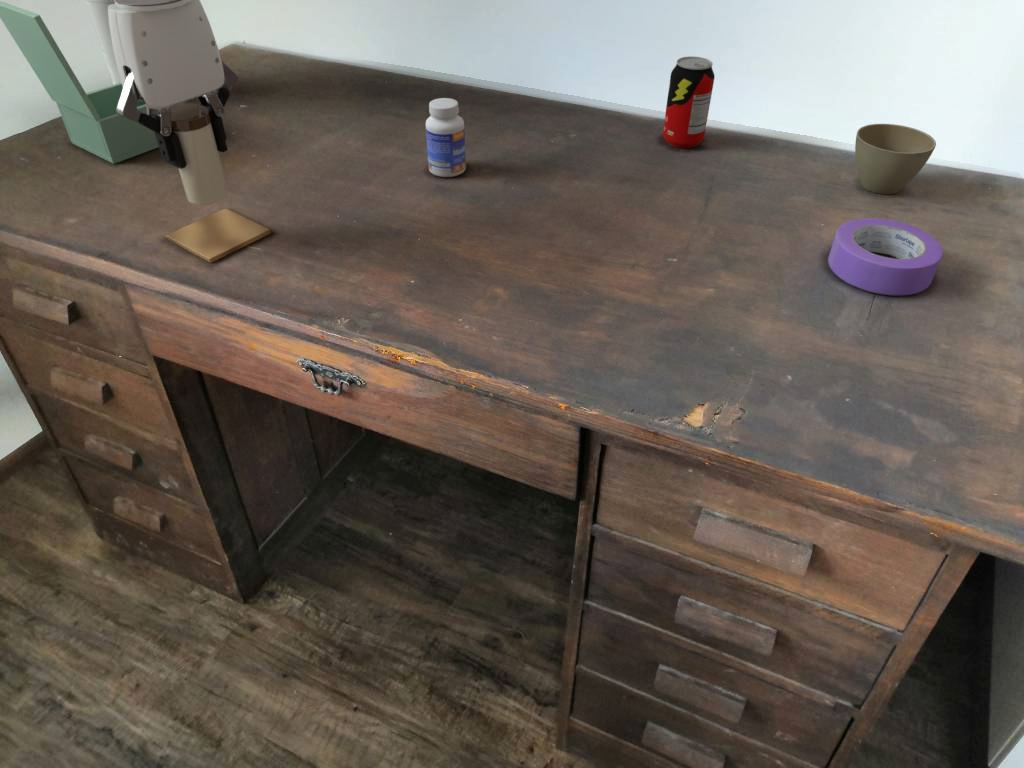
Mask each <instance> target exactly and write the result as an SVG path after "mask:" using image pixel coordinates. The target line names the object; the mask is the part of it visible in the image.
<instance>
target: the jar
mask: <svg viewBox="0 0 1024 768" xmlns="http://www.w3.org/2000/svg"><path fill="white" fill-rule="evenodd" d="M171 126H172V132H173V133H176V134H177V135H178V137H179V140H180V144H181V147H182V151H183V154H184V158H185V161H186V167H185V168H182V169H180V168H178V167H177V169H178V172H179V177H180V179H181V183H182V186H183V190H184V193H185V197H186V200H187V201H188V202H189V203H190V204H193V205H197V206H207V205H213V204H217V203H220V202H222V201H224V200H225V199H226V198H228V196H229V189H228V184H227V181H226V177H225V173H224V169H223V164H222V162H221V161H222V160H221V157H220V154H219V151H218V149H217V145H216V141H215V137H214V133H213V129H212V125H211V117H210V113H209V110H208V108H207V107H205V106H202V105H200V104H193V103H190V104H189V103H188V104H187V103H186V105H180V106H175V107H172V108H171Z"/></svg>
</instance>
